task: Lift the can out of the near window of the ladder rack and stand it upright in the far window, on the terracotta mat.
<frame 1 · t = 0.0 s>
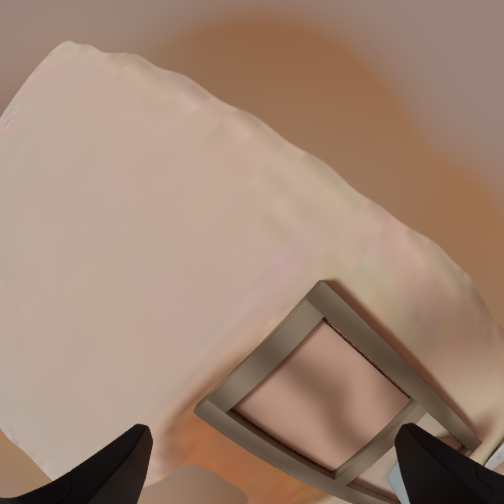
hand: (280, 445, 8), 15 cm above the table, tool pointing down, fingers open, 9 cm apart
spoon: (448, 501, 22), on the table
ladder rack: (377, 441, 22), on the table
can: (411, 462, 22), resting in ladder rack
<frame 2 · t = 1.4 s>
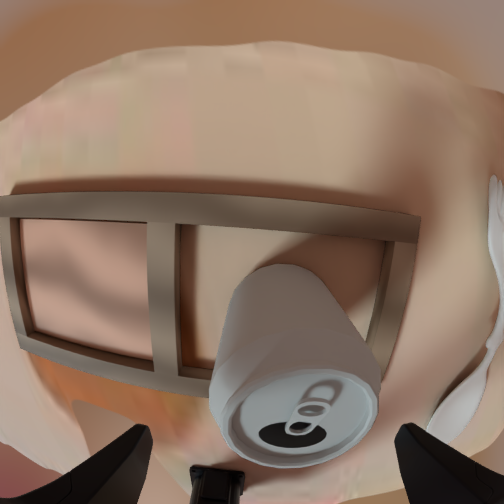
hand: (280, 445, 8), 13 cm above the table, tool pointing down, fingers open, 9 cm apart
spoon: (477, 332, 21), on the table
ladder rack: (167, 299, 20), on the table
can: (279, 308, 21), resting in ladder rack
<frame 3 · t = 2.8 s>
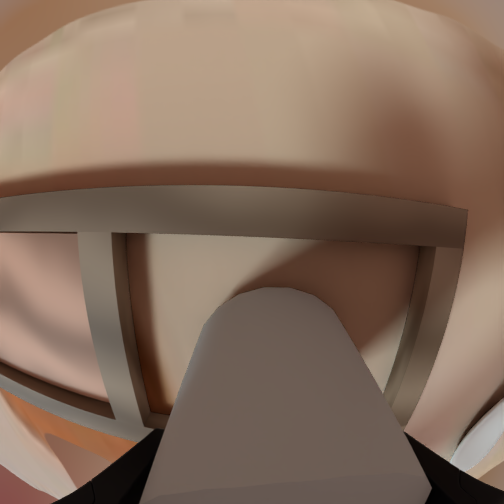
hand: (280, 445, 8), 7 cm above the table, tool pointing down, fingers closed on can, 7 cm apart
ladder rack: (119, 334, 14), on the table
can: (272, 346, 14), resting in ladder rack, touching gripper
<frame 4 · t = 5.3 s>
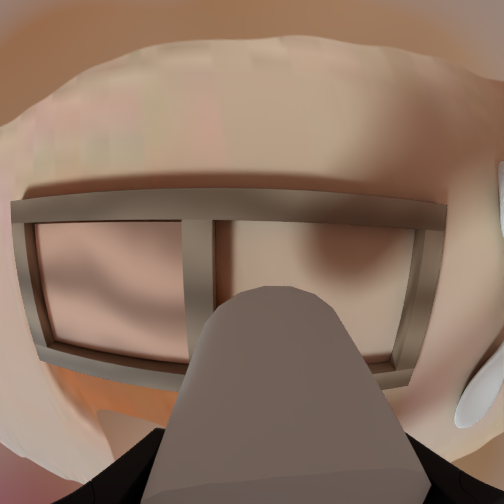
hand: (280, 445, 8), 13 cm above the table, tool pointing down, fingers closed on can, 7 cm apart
spoon: (496, 313, 21), on the table
ladder rack: (202, 299, 20), on the table
can: (272, 344, 14), point 6 cm above the table, touching gripper
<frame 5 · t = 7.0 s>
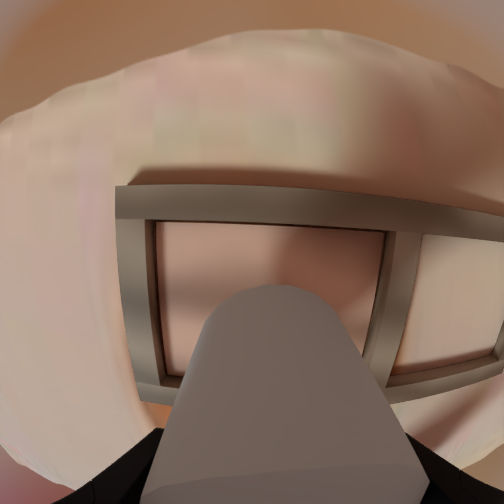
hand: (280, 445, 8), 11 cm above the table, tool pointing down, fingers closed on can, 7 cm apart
ladder rack: (385, 312, 18), on the table
can: (271, 343, 14), point 4 cm above the table, touching gripper
when the fingers open (8 cm above the table, at t = 8.1 s): can drops 1 cm, resting on ladder rack.
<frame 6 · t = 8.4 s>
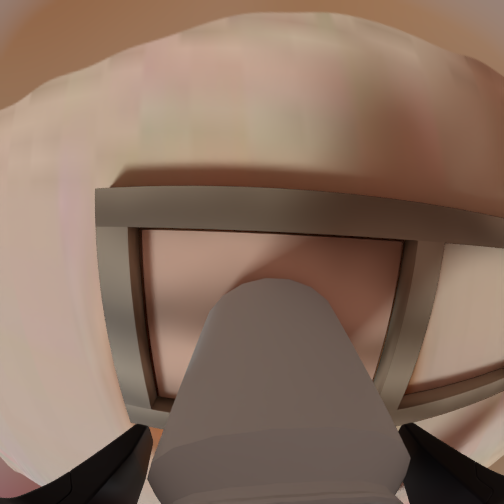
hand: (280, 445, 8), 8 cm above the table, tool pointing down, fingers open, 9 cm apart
ladder rack: (400, 329, 16), on the table
can: (271, 333, 16), resting on ladder rack
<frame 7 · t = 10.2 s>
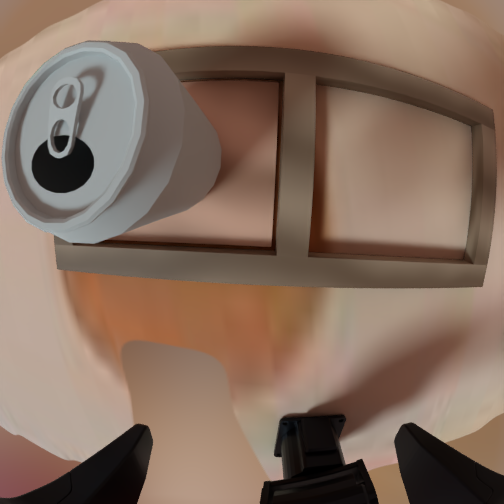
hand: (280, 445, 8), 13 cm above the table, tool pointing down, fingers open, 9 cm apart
ladder rack: (295, 163, 18), on the table
can: (169, 159, 18), resting on ladder rack
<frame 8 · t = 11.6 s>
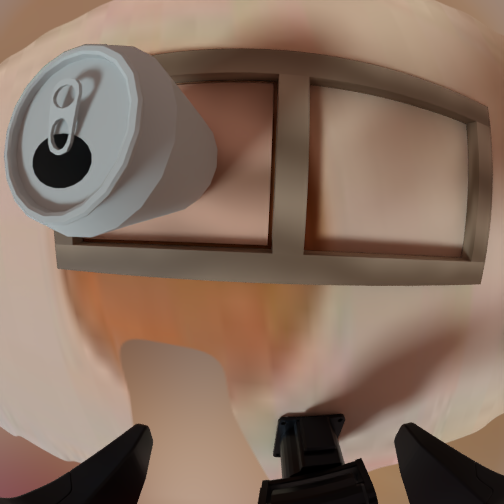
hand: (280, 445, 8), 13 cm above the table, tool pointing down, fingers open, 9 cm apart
ladder rack: (290, 162, 18), on the table
can: (167, 160, 18), resting on ladder rack
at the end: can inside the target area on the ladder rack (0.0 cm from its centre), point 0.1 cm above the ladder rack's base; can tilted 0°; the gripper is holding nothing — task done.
